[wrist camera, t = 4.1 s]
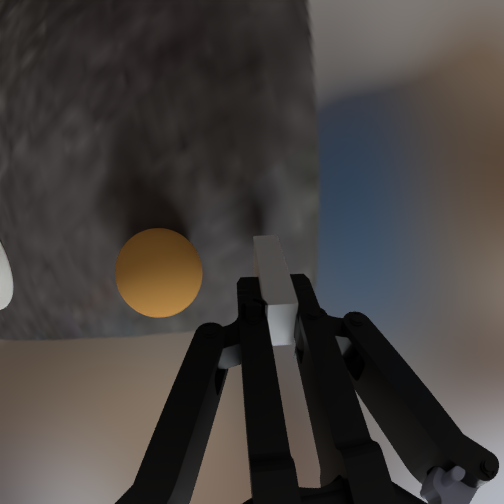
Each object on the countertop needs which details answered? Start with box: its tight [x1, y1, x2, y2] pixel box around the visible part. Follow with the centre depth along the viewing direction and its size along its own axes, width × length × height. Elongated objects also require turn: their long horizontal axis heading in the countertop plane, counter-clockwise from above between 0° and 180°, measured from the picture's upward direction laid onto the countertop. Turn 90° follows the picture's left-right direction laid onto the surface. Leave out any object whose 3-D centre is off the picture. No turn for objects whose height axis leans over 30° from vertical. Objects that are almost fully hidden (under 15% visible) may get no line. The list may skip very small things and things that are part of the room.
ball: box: [115, 228, 202, 317], centre depth 18 cm, size 6×6×6 cm
